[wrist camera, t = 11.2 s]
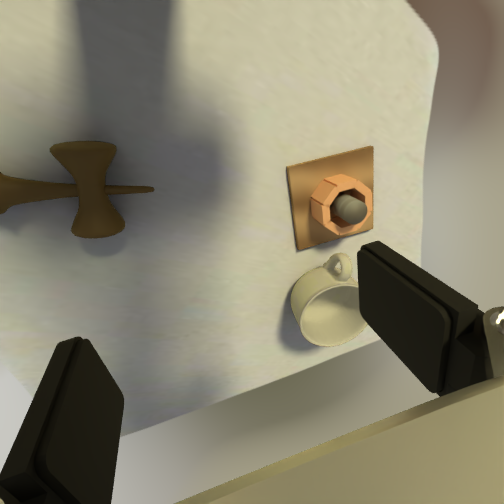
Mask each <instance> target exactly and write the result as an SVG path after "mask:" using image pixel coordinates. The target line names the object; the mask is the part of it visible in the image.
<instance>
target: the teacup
mask: <svg viewBox="0 0 504 504" xmlns="http://www.w3.org/2000/svg"><path fill="white" fill-rule="evenodd" d="M338 262H340V265H341V269H338V268H335V266H336V265H337V263H338ZM351 274H352V262H351V259H350V258H349V257H348V255H346V254H343V253H336V254H334V255H332V256H331V257H330V258H329V260H328V261H327V263H324V265H323V267H319V268H316V269H313V270H311V271H309V272H307V273H306V274H304V275H303V276H302V277H301V278H300V279H299V280H298V281H297V283H296V284H295V286H294V288H293V290H292V293H291V307H292V311H293V314H294V316H295V318H296V320H297V323H298V325H299V326H300V330H301V333H302V335H303V336H304V337H305V339H306V340H308V341H309V342H310V343H312V344H314V345H318V346H324V347H331V346H337V345H341V344H344V343H346V342H348V341H350V340H352V339H353V338H355V337H356V336H357V335H358V334H360V333H361V332H362V331H363V330H364V328H365V327H366V326H367V325H368V324H367V322H366V321H365V320H364V319H363V318H362V316H361V314H360V310H359V289H358V283H357V282H356V281H355V280H354V279H353V278H352V277H351Z"/></svg>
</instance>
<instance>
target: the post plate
mask: <svg viewBox="0 0 504 504" xmlns="http://www.w3.org/2000/svg"><path fill="white" fill-rule="evenodd" d="M339 174H344V175H347V176H350V177H352V178H355V179H357V180H359V181H360V182H362V183H363V184H364V185H365V186H367V187H368V188H369V189H370V190H371V192H372V211H370V212H371V214H370V216H369V217H368V218H367V220H366V221H365V222H364V224H363V225H362V226H361V228H360V229H358V230H357V231H354V232H350V233H347V234H343V235H337V234H335V233H334V232H332V231H331V230H329V229H328V228H326V227H325V226H323V225H322V224H321V223H319V222H318V221H317V220H315V219H314V218H313V217H312V212H311V202H310V198H312V197H311V195H312V194H313V192H314V191H315V189H316V188H317V187H318V185H319V184H320V182H321V181H322V180H324V178H328V177H332V176H335V175H339ZM287 175H288V183H289V190H290V198H291V206H292V214H293V221H294V229H295V237H296V245H297V248H298V250H301V249H304V248H308V247H311V246H315V245H318V244H321V243H325V242H328V241H332V240H335V239H339V238H342V237H345V236H349V235H352V234H356V233H359V232H363V231H366V230H369V229H373V146H368V147H364V148H360V149H356V150H352V151H348V152H344V153H340V154H336V155H331V156H327V157H323V158H319V159H315V160H311V161H307V162H303V163H299V164H295V165H291V166H287ZM329 207H330V219H332V218H335V217H340V218H342V219H343V220H345V221H346V222H348V223H349V224H352V225H355V224H358V223H360V222H362V221H363V220H364V218H365V217H366V215H367V206H366V204H365V203H364V202H362V201H360V200H358V199H356V198H354V197H352V196H351V191H350V189H348V190H345V191H341V192H339V193H338V195H337V196H336V197H335V199H334V200H333V202H332V203H331V204H330V206H329Z"/></svg>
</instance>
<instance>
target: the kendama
mask: <svg viewBox="0 0 504 504" xmlns="http://www.w3.org/2000/svg"><path fill="white" fill-rule="evenodd" d="M50 152H51V154H52V155H53V156H54V157H55V158H56V159H57V160H58V161H59V162H60V163H61V164H62V165H63V166H64V167H65V168H66V169H67V170H68V171H69V173H70V174H71V175H72V177H73V178H74V180H75V182H76V184H66V183H53V182H43V181H34V180H26V179H19V178H14V177H9V176H6V175H3V174H2V173H1V172H0V214H2V213H5V212H6V211H7V209H8V208H9V207H11V206H13V205H17V204H22V203H28V202H34V201H41V200H49V199H57V198H67V197H78V196H79V209H78V212H77V214H76V217H75V219H74V222H73V225H72V228H71V231H72V233H73V234H74V235H75V236H78V237H82V238H103V237H108V236H112V235H115V234H117V233H119V232H121V231H122V230H123V229H124V228H125V221H124V219H123V218H122V216H121V215H120V214H119V213H118V212H117V210H116V209H115V208H114V207H113V205H112V204H111V202H110V200H109V197H108V195H112V194H132V193H147V192H153V191H154V188H153V187H148V186H118V185H106V183H105V175H106V171H107V169H108V167H109V165H110V163H111V161H112V159H113V158H114V156H115V153H116V146H115V145H113V144H110V143H105V142H97V141H75V142H64V143H59V144H55V145H53V146H52V147H51V148H50Z"/></svg>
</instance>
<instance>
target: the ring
mask: <svg viewBox="0 0 504 504" xmlns="http://www.w3.org/2000/svg"><path fill="white" fill-rule="evenodd" d="M348 189H350V191H351V196H352V197H354V198H356V199H358V200H360V201H362V202H364V203H365V204H366V206H367V215H366V217H365V218H364V220H363V221H362V222H360V223H358V224H355V225H352V224H349V223H348V222H346V221H345V220H343V219H342V218H340V217H335V218H332V219H330V207H329V206H330V204H331V203H332V202H333V200H334V199H335V197H336V196H337V195H338V193H339V192H341V191H345V190H348ZM311 197H312V198H310V202H311V212H312V217H313V218H314V219H315V220H317V221H318V222H319V223H321V224H322V225H323V226H325V227H326V228H328V229H329V230H331V231H332V232H334V233H335V234H337V235H343V234H347V233H350V232H354V231H357V230H358V229H360V228H361V226H362V225H363V224H364V222H365V221H366V220H367V218H368V217H369V216H370V214H371V212H370V211H372V192H371V190H370V189H369V188H368V187H367V186H365V185H364V184H363V183H362V182H360V181H359V180H357V179H355V178H352V177H350V176H347V175H344V174H339V175H335V176H332V177H328V178H324V180H322V181H321V182H320V184H319V185H318V187H317V188H316V189H315V191H314V192H313V194H312V195H311Z"/></svg>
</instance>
